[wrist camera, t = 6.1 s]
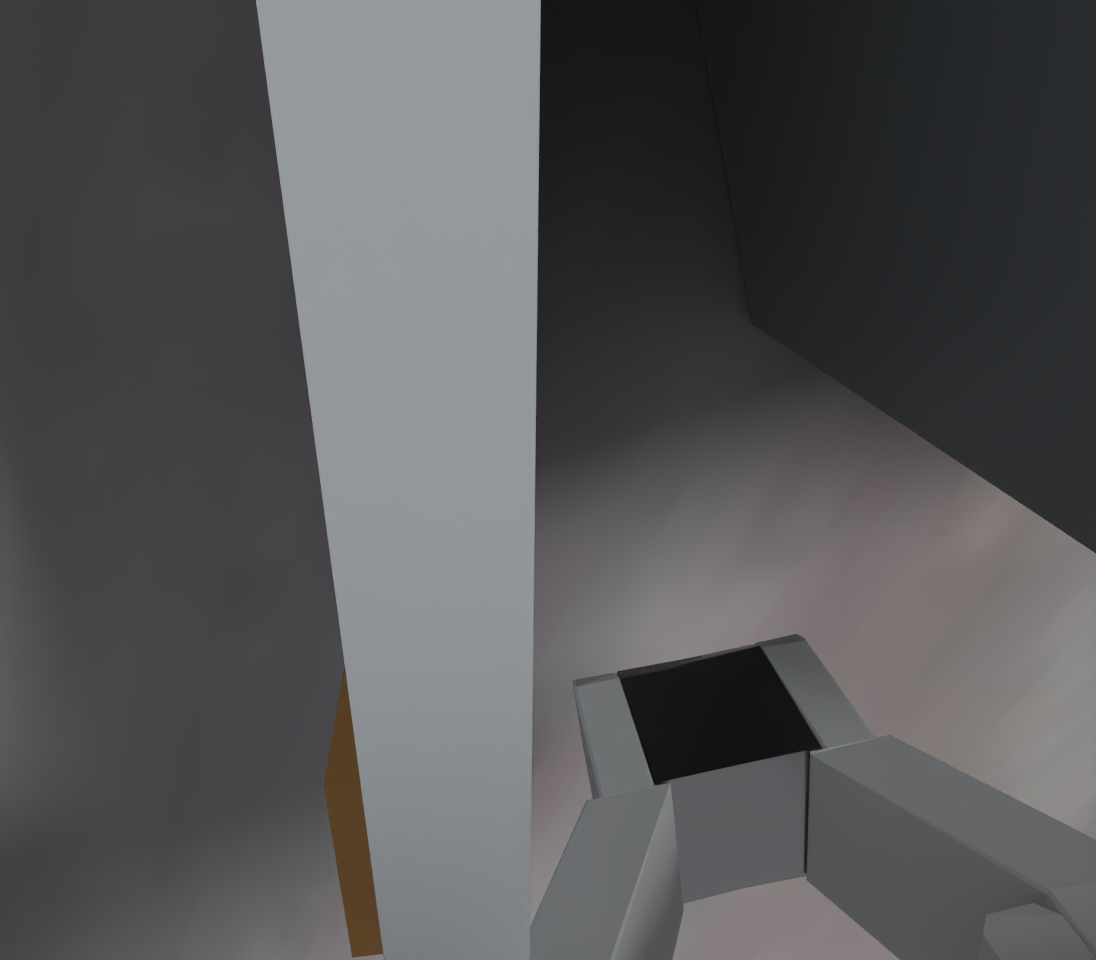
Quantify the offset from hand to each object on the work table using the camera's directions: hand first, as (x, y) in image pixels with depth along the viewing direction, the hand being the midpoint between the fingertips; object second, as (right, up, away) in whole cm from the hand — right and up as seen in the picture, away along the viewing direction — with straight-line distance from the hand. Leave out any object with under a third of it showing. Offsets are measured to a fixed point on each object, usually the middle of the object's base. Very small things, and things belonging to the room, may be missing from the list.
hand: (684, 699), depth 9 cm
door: (-4, +9, +2) cm, 10 cm away
